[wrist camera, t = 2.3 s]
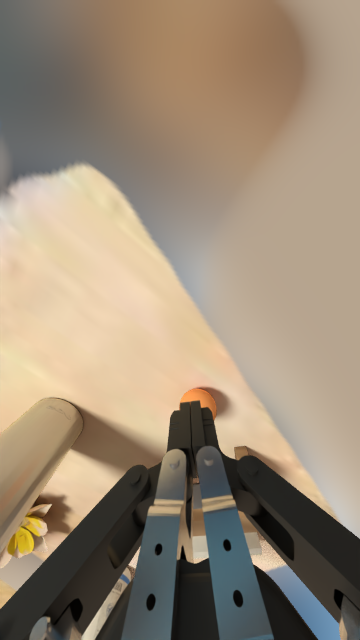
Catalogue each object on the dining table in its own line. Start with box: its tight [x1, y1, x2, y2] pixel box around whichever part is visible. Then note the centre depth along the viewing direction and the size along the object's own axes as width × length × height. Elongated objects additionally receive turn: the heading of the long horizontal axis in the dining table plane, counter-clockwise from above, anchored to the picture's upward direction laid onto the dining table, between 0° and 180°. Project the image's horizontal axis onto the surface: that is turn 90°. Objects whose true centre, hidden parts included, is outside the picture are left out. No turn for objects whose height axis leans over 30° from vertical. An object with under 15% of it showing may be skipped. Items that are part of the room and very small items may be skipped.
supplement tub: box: [81, 567, 131, 640], centre depth 34 cm, size 10×10×15 cm
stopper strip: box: [192, 532, 262, 559], centre depth 36 cm, size 2×16×2 cm, turn 99°
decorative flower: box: [0, 504, 52, 568], centre depth 32 cm, size 15×11×10 cm
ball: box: [179, 389, 217, 420], centre depth 26 cm, size 6×6×6 cm
